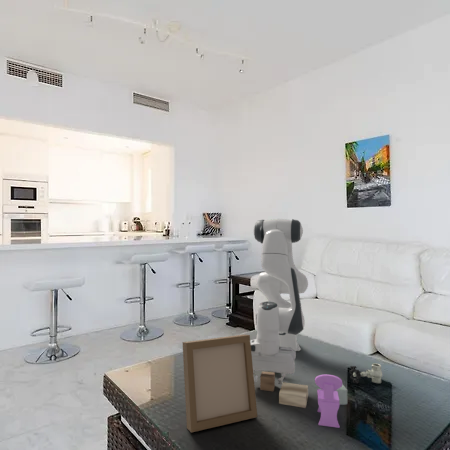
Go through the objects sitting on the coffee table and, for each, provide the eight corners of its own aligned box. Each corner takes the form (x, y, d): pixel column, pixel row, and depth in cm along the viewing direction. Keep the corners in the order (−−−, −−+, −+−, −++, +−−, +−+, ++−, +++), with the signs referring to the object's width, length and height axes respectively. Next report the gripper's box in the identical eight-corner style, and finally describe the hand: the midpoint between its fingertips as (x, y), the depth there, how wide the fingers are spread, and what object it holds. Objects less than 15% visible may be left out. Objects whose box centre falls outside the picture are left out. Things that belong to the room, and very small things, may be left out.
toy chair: (340, 413, 112) (340, 367, 112) (343, 428, 104) (343, 378, 104) (314, 410, 114) (314, 364, 114) (314, 424, 106) (315, 375, 106)
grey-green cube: (328, 397, 123) (328, 383, 123) (342, 397, 123) (342, 383, 123) (332, 404, 118) (333, 390, 118) (347, 404, 118) (347, 389, 118)
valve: (376, 377, 140) (349, 379, 138) (376, 361, 140) (349, 363, 139) (386, 384, 134) (358, 386, 132) (386, 367, 134) (358, 369, 132)
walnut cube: (262, 384, 133) (262, 371, 133) (274, 385, 132) (275, 372, 132) (260, 390, 128) (260, 376, 129) (273, 391, 127) (273, 378, 127)
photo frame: (257, 420, 108) (258, 340, 108) (191, 436, 99) (192, 348, 100) (237, 398, 121) (237, 327, 122) (177, 411, 113) (178, 334, 113)
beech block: (283, 392, 127) (283, 382, 127) (307, 396, 124) (308, 385, 124) (279, 404, 118) (279, 392, 118) (305, 408, 115) (305, 396, 116)
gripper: (296, 345, 131) (295, 381, 131) (243, 341, 136) (243, 376, 136) (295, 351, 125) (295, 389, 125) (240, 346, 130) (240, 382, 130)
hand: (267, 382), depth 130 cm, fingers open, 8 cm apart
